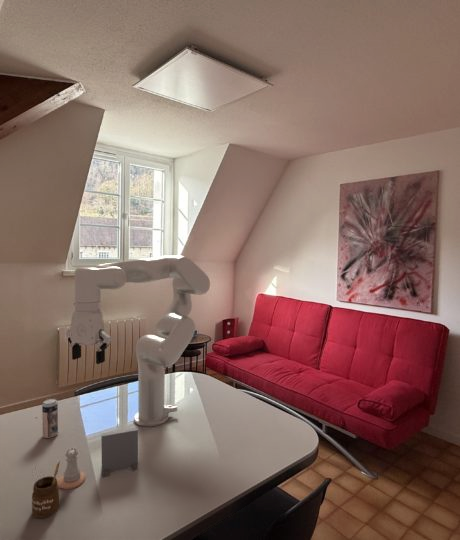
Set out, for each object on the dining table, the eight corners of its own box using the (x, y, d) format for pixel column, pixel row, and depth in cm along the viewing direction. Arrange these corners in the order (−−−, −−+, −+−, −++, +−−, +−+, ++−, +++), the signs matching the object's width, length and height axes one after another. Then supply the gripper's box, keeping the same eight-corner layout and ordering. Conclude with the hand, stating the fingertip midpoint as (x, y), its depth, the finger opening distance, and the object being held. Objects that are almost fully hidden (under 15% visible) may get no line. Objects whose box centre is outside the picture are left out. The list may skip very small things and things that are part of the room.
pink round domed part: (84, 470, 105) (84, 468, 105) (85, 485, 98) (85, 483, 98) (58, 475, 102) (57, 473, 102) (56, 491, 96) (56, 489, 96)
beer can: (51, 440, 121) (51, 404, 120) (39, 438, 122) (38, 403, 121) (61, 432, 125) (60, 398, 125) (49, 431, 126) (48, 397, 125)
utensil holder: (38, 501, 92) (37, 456, 91) (64, 501, 92) (63, 455, 92) (27, 519, 86) (26, 470, 85) (54, 518, 87) (53, 470, 86)
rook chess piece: (68, 485, 97) (67, 456, 97) (60, 478, 100) (59, 450, 100) (83, 477, 101) (83, 449, 100) (75, 471, 104) (75, 443, 103)
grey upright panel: (136, 459, 110) (136, 424, 110) (138, 469, 106) (138, 432, 105) (101, 467, 107) (101, 430, 106) (102, 477, 102) (102, 439, 101)
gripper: (57, 306, 114) (58, 360, 115) (101, 311, 107) (101, 368, 108) (76, 303, 121) (76, 353, 122) (118, 307, 114) (118, 361, 115)
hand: (88, 360), depth 115 cm, fingers open, 9 cm apart
